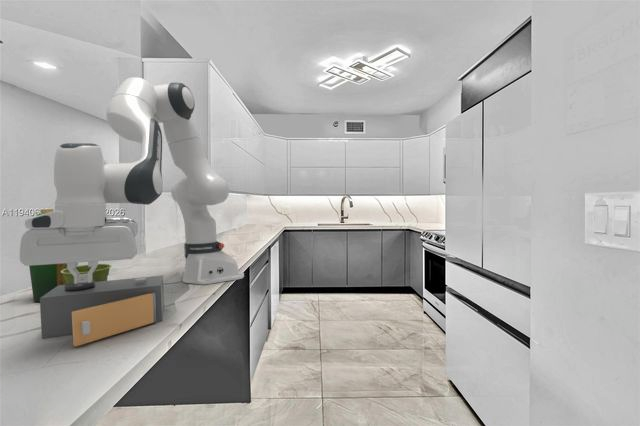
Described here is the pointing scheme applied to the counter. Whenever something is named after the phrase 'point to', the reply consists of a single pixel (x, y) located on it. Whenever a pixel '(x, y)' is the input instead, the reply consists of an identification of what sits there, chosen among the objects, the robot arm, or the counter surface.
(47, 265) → the bottle
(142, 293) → the grey cabinet
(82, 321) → the side door
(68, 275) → the plant pot
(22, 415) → the counter surface
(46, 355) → the counter surface
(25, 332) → the counter surface
